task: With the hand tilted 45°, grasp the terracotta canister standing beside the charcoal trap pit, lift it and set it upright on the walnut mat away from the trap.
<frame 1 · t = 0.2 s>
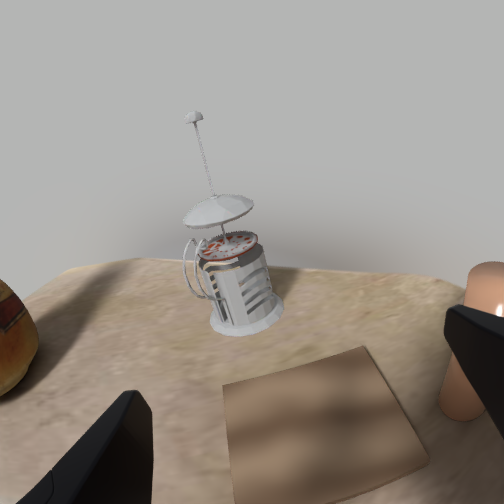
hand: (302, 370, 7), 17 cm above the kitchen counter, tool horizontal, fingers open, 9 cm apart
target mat: (315, 431, 21), on the kitchen counter
ceramic pitcher: (7, 375, 34), on the kitchen counter
french press: (242, 316, 39), on the kitchen counter
terracotta canister: (464, 397, 19), on the kitchen counter
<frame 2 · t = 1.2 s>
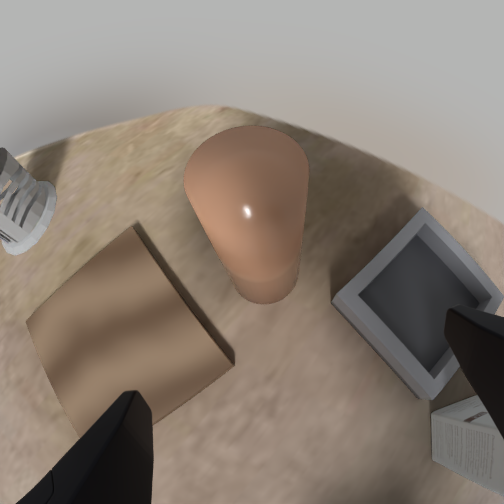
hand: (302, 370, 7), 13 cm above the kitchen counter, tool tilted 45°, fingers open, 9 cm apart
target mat: (111, 345, 22), on the kitchen counter
skincare box: (458, 427, 16), on the kitchen counter
trap pit: (419, 305, 20), on the kitchen counter
french press: (25, 223, 28), on the kitchen counter
terracotta canister: (264, 271, 23), on the kitchen counter
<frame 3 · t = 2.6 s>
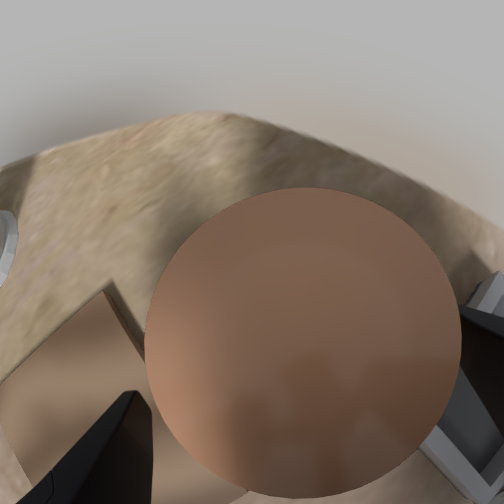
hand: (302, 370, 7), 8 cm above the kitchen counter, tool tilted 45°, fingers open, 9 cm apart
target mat: (90, 444, 14), on the kitchen counter
trap pit: (481, 394, 13), on the kitchen counter
terracotta canister: (291, 366, 15), on the kitchen counter
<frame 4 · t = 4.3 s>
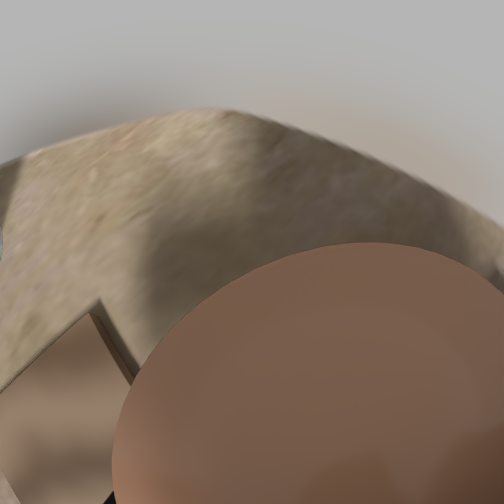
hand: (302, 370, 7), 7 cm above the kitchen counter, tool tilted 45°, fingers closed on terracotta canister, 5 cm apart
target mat: (82, 475, 12), on the kitchen counter
terracotta canister: (300, 399, 13), on the kitchen counter, touching gripper
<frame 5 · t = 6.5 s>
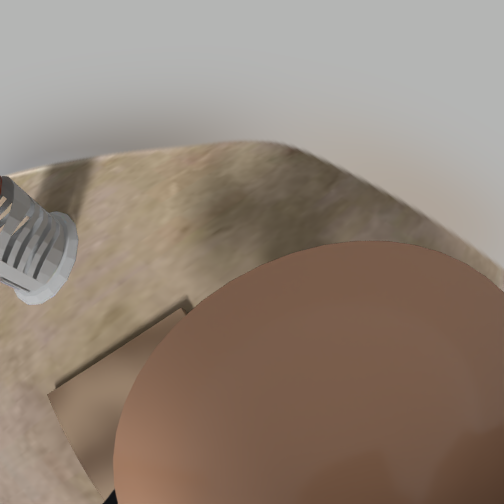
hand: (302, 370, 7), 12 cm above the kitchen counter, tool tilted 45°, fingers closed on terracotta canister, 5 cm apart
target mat: (157, 441, 18), on the kitchen counter
french press: (39, 265, 24), on the kitchen counter
terracotta canister: (301, 399, 13), point 6 cm above the kitchen counter, touching gripper
when the fingers open (9 cm above the kitchen counter, at t = 9.0 s): terracotta canister drops 1 cm, resting on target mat.
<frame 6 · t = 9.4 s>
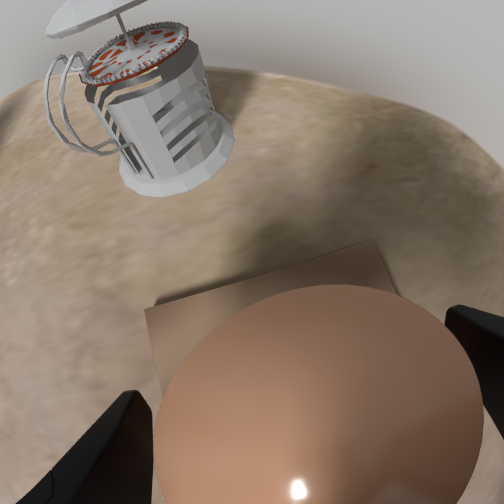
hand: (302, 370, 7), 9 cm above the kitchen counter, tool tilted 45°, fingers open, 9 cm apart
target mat: (297, 396, 15), on the kitchen counter
french press: (168, 156, 23), on the kitchen counter
terracotta canister: (298, 398, 14), point 1 cm above the kitchen counter, touching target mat
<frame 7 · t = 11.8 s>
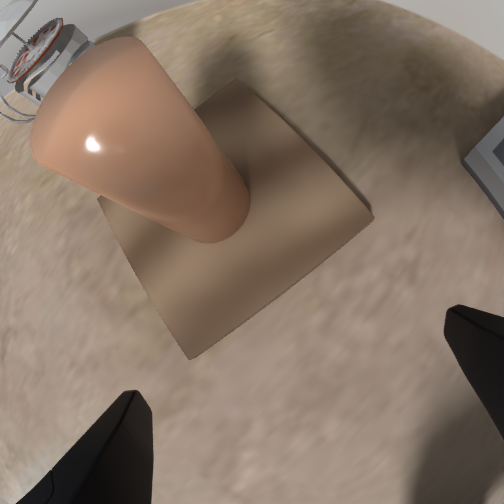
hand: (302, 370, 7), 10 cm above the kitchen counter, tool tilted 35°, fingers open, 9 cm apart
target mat: (217, 207, 20), on the kitchen counter
french press: (91, 104, 25), on the kitchen counter
terracotta canister: (211, 204, 19), point 1 cm above the kitchen counter, touching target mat
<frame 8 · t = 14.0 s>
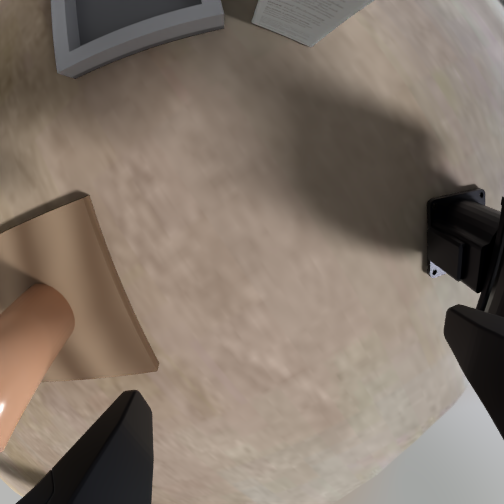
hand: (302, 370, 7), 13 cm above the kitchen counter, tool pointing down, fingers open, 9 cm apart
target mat: (52, 305, 20), on the kitchen counter
skincare box: (297, 6, 15), on the kitchen counter
terracotta canister: (48, 312, 19), point 1 cm above the kitchen counter, touching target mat
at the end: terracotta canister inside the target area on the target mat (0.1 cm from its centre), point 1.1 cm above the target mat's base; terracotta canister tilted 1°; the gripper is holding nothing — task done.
